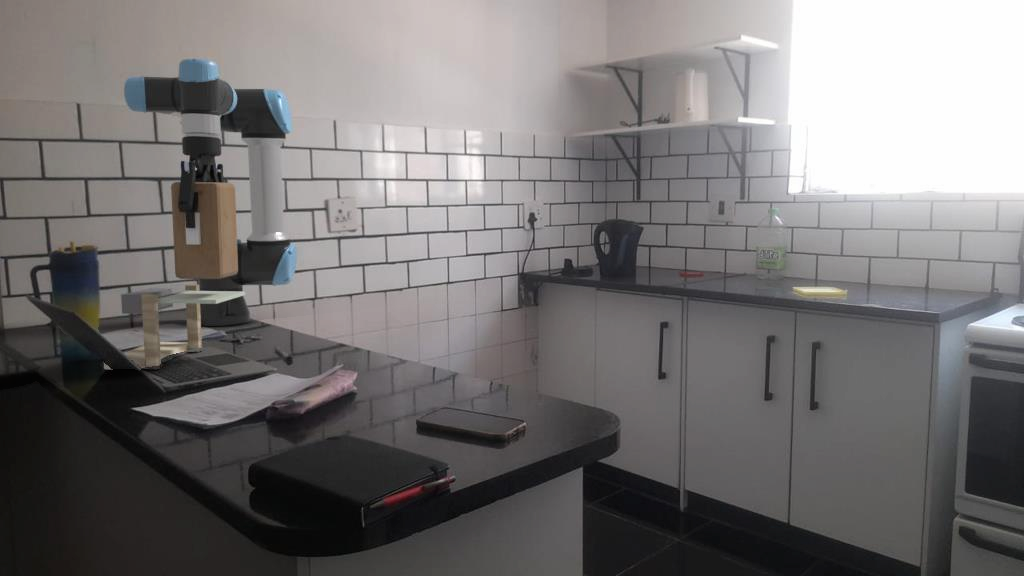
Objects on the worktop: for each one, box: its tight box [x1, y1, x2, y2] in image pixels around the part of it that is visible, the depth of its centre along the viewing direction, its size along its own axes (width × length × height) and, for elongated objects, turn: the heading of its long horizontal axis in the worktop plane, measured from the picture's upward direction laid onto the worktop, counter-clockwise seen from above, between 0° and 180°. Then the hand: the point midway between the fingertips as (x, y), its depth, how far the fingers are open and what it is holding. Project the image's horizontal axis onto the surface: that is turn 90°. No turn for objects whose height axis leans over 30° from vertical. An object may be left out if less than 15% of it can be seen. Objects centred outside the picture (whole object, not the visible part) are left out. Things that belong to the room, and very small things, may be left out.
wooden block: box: [170, 181, 238, 280], centre depth 155 cm, size 10×10×20 cm
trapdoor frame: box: [103, 283, 203, 370], centre depth 158 cm, size 19×11×16 cm, turn 176°
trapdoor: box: [120, 287, 246, 315], centre depth 157 cm, size 14×21×4 cm, turn 86°
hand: (206, 242), depth 155 cm, fingers closed on wooden block, 10 cm apart
